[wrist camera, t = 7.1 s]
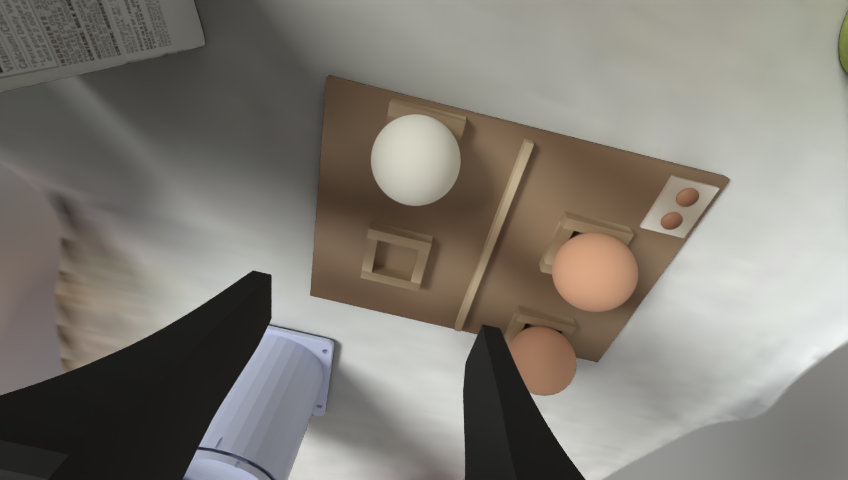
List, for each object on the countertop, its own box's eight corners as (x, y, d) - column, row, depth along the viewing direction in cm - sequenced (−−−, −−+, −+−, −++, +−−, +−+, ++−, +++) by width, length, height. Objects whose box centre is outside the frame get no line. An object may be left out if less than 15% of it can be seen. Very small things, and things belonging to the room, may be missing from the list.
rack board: (593, 360, 27) (598, 374, 26) (311, 294, 26) (305, 306, 25) (725, 175, 19) (739, 186, 18) (329, 75, 18) (320, 80, 17)
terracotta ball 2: (600, 282, 23) (623, 336, 19) (534, 267, 22) (546, 319, 19) (637, 227, 20) (670, 277, 17) (564, 209, 20) (584, 257, 17)
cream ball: (449, 191, 20) (445, 231, 17) (374, 173, 20) (356, 209, 17) (471, 115, 18) (471, 144, 15) (387, 94, 18) (368, 119, 15)
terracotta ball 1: (553, 361, 26) (565, 416, 23) (496, 348, 26) (500, 401, 23) (579, 321, 24) (596, 374, 21) (517, 306, 24) (525, 357, 21)
